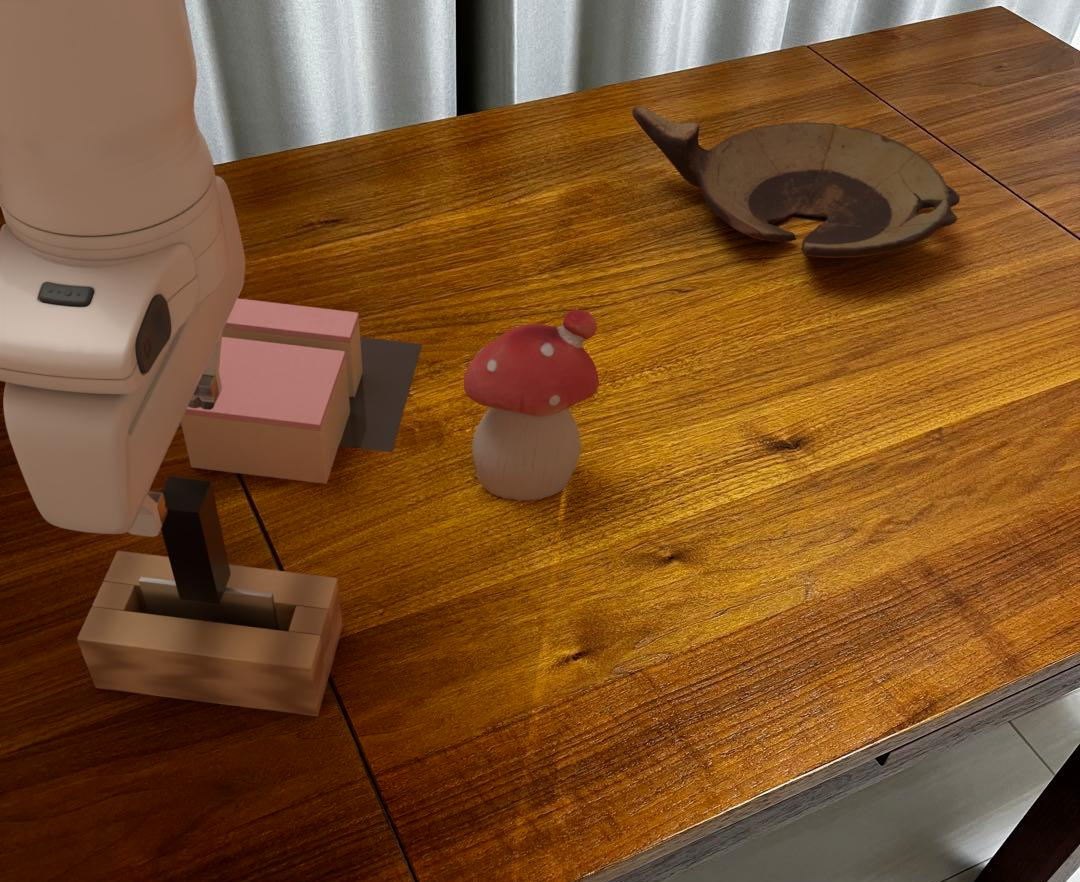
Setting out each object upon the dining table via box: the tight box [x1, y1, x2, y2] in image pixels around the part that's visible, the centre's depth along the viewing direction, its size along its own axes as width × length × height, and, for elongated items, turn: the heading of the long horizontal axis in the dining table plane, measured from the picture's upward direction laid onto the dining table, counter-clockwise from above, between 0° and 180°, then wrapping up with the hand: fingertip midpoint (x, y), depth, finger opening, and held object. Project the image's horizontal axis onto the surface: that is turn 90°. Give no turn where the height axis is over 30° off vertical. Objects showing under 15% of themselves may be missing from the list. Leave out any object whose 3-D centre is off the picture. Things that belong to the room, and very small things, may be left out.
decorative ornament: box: [463, 309, 600, 501], centre depth 84 cm, size 9×6×15 cm
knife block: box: [76, 550, 344, 717], centre depth 74 cm, size 14×7×6 cm, turn 84°
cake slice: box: [222, 297, 363, 397], centre depth 92 cm, size 10×3×6 cm, turn 84°
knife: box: [139, 475, 279, 630], centre depth 70 cm, size 8×2×15 cm, turn 84°
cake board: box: [178, 336, 423, 453], centre depth 92 cm, size 18×18×1 cm
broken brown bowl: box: [631, 105, 961, 259], centre depth 112 cm, size 22×30×8 cm
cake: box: [181, 337, 350, 485], centre depth 87 cm, size 10×8×6 cm
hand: (177, 459), depth 63 cm, fingers open, 8 cm apart
